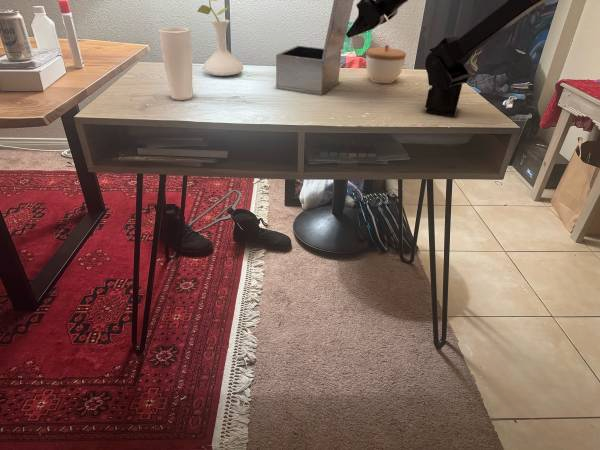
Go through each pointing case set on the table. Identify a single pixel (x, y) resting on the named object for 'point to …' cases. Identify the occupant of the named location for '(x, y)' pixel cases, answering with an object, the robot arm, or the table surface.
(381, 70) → the trinket box
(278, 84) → the tin
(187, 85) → the drinking glass
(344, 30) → the lid
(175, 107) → the table surface
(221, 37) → the flower in vase
